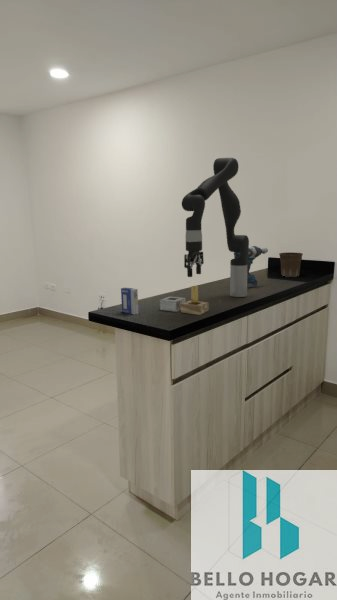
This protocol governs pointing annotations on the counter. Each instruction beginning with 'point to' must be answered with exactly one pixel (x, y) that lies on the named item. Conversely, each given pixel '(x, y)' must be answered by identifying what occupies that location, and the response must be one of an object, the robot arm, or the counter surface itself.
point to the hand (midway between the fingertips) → (194, 275)
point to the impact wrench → (252, 255)
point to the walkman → (129, 300)
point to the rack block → (195, 307)
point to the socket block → (171, 303)
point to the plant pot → (290, 264)
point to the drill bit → (194, 295)
